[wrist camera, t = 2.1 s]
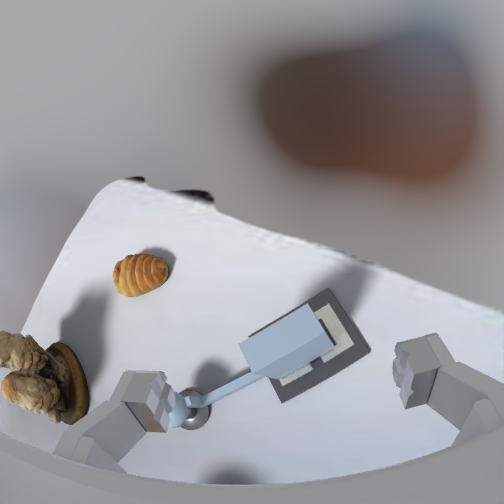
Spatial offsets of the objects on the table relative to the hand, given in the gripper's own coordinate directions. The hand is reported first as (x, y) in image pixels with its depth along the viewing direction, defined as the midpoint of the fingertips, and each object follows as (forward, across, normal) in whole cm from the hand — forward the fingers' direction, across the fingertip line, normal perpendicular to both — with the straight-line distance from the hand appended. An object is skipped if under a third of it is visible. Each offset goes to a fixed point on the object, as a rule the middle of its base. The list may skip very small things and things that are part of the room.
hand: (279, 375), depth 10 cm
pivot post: (+15, +14, +22) cm, 30 cm away
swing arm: (+16, +6, +18) cm, 25 cm away
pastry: (+33, +22, +11) cm, 41 cm away
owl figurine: (+21, +40, +24) cm, 51 cm away
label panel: (+19, -1, +16) cm, 24 cm away
